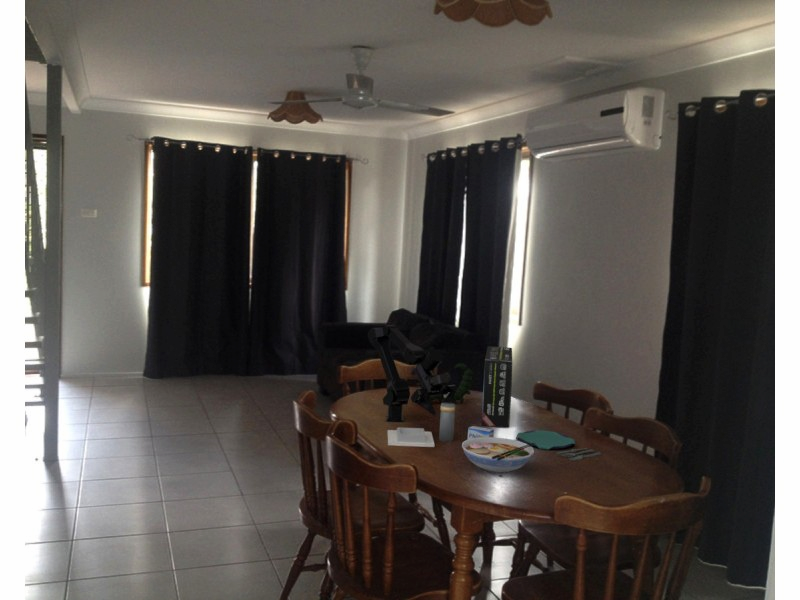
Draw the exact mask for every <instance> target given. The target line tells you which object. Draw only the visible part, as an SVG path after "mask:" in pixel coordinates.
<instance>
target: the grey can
mask: <svg viewBox="0 0 800 600" xmlns="http://www.w3.org/2000/svg"><path fill="white" fill-rule="evenodd" d="M439 409H440V415H439V417H440V419H439V431H438V432H439V435H438V437H439V438H438V440H439V441H440V442H441V441H442V442H446V441H449V442H453V441H452V440H454V433H455V432H454V430H455V415H456V414H455V412H456V403H455V404H454V403H448V402H445V403H442V402H441V403H440V408H439Z"/></svg>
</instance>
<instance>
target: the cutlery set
mask: <svg viewBox="0 0 800 600" xmlns="http://www.w3.org/2000/svg"><path fill="white" fill-rule="evenodd" d="M518 439H519V440H518ZM515 440H518V441H519V442H523V443H526V444H531V443H533V445H532V444H531V447H535V448H536V447H537V448H538V449H540V450H550V449H555V450H557V449H564V448H569V447H571V446H572V445H573V447H575V446H576V440H575V438H571V437H569V436H567V435H565V434H562V433H558V432H556V431H552V430H550V431H549V430H544V429H542V430H541V429H537V430H529V431H528V430H527V431H523V432H519V433H517V434H516V438H515ZM534 443H536V444H534ZM578 451H580V452H578ZM594 452H595V450H594V449H588V447H585V448H578V449H575V448H573V449H571V450H565V451H558V452H556V453H555V454H556V455H561V456H562V457H564V458H567V456H569V460H570V461H577V460H583V459H584V458H592V457H596V456H597V457H598V456H602V452H600V451H598V452H595V453H594ZM586 453H590V454H588V455H583V454H586ZM591 453H592V454H591Z"/></svg>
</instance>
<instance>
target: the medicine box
mask: <svg viewBox="0 0 800 600" xmlns="http://www.w3.org/2000/svg"><path fill="white" fill-rule="evenodd" d="M494 434H495V429H492V428H487V427H481V426H478V425H472V426H469V427H468V430H467V439H466V440H468V439H472V438H479V437H494Z"/></svg>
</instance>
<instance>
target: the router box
mask: <svg viewBox="0 0 800 600" xmlns="http://www.w3.org/2000/svg"><path fill="white" fill-rule="evenodd" d="M484 358H485V359H484V368H483V369H484V370H483V386H482V390H483V391H482V407H481V409H482V411H481V413H482V415H481V426H485V427H493V428H506V427H507V429H508V428H509V429H510V421H511V420H510V419H511V408H512V407H511V406H512V404H511V403H512V385H513V383H512V382H513V348H512V347H506V346H505V347H504V346H495V345H494V346H493V345H491V346H490V345H489V346H487V349H486V353H485V357H484Z"/></svg>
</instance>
